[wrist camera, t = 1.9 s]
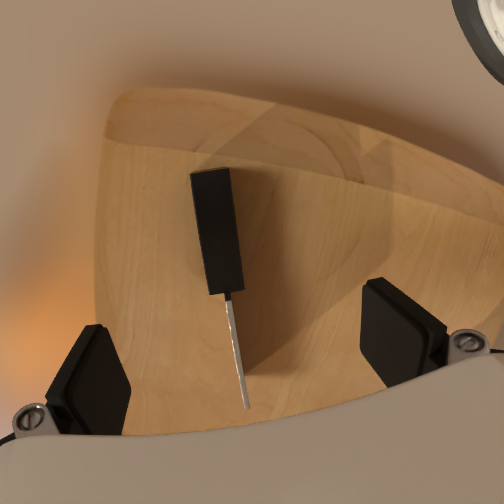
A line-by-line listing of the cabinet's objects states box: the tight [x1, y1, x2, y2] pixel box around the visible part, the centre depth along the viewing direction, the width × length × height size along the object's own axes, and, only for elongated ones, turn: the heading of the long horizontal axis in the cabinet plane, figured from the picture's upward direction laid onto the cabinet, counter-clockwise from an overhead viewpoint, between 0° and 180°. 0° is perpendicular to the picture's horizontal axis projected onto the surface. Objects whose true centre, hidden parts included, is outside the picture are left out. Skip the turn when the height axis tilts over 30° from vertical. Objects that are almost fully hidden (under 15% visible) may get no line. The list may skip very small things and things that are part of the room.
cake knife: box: [190, 167, 250, 409], centre depth 22 cm, size 18×2×4 cm, turn 7°
